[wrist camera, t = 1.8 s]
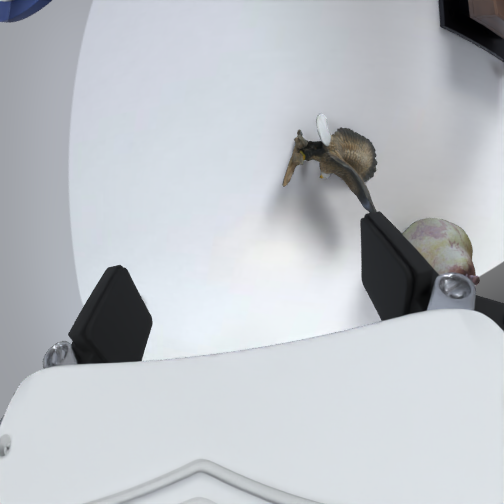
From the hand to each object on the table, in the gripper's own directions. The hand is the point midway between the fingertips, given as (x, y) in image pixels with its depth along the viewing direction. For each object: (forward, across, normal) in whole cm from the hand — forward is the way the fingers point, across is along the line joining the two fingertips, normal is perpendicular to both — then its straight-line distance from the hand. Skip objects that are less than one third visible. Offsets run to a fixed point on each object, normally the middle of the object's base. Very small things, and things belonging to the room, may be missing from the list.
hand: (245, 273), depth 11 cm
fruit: (+18, -18, +13) cm, 28 cm away
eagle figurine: (+18, -8, +1) cm, 20 cm away
